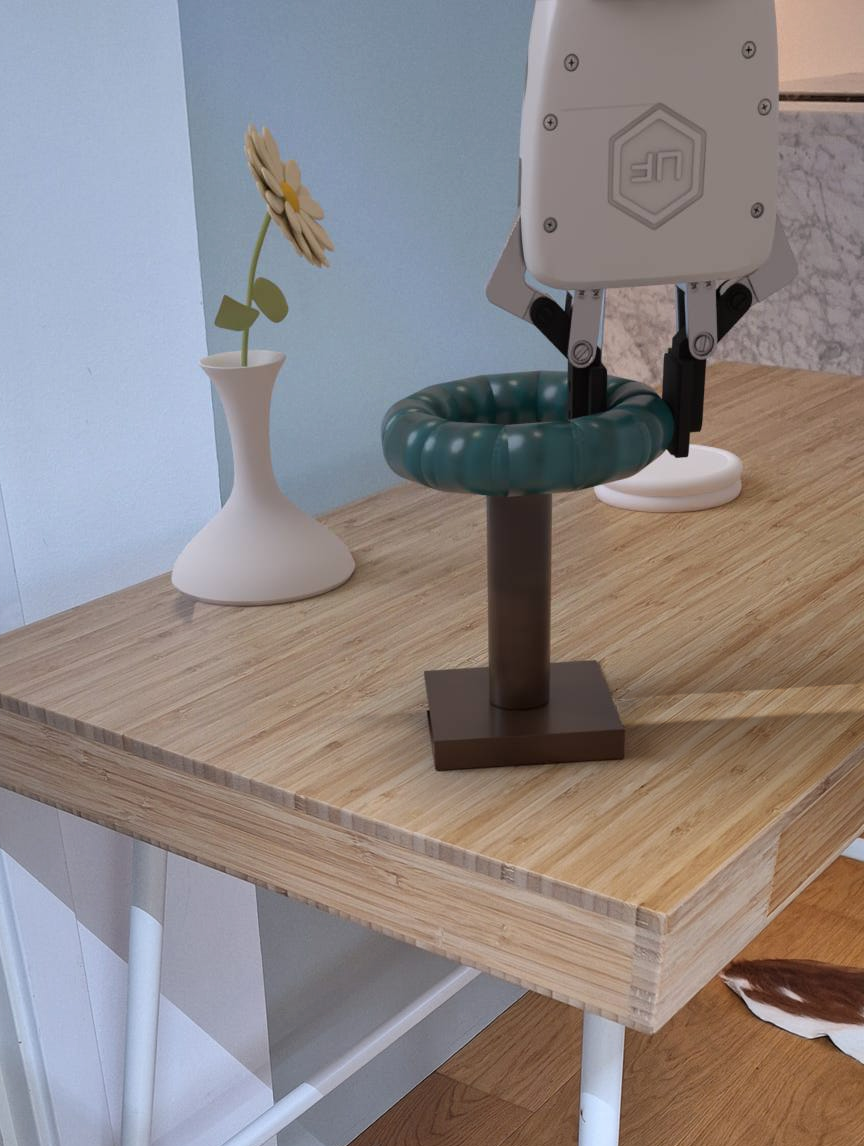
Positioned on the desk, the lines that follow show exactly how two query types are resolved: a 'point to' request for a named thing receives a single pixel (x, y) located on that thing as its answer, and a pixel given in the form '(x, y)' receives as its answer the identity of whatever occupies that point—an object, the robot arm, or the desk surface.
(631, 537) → the desk surface
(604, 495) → the white grooved disc
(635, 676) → the desk surface
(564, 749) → the post
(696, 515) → the desk surface
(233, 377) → the flower in vase
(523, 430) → the ring
